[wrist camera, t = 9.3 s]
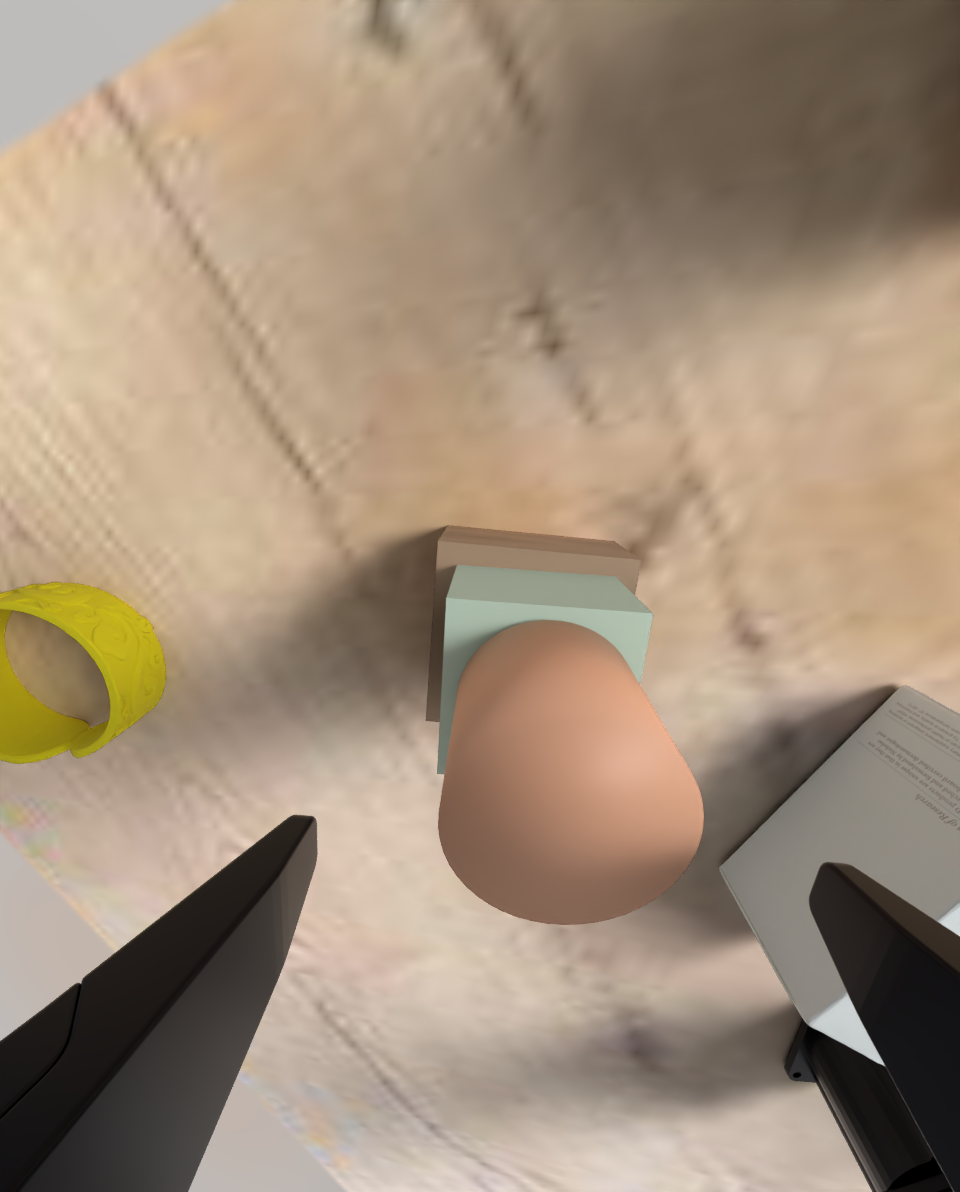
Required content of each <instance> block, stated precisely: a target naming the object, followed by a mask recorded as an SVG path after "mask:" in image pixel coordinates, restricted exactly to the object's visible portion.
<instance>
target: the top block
mask: <svg viewBox="0 0 960 1192" xmlns="http://www.w3.org/2000/svg"><path fill="white" fill-rule="evenodd" d="M652 618H653V613H652V612H651V611H650V610H649V609H648V608H647V607H646V606H645V605H644V604H643V603H642V602H641V601H640V600H639V599H638V598H637V597H636V596H635V595H634V594H633V593H632V592H631V591H630V590H629V589H628V588H627V587H626V586H625V585H624V584H623V583H622V582H621V581H620V580H619V579H618V578H617V577H615V576H601V575H588V574H575V573H561V572H548V571H535V570H521V569H508V568H495V567H481V566H468V565H457V567H456V570H455V573H454V576H453V579H452V582H451V585H450V588H449V591H448V594H447V597H446V614H445V633H444V652H443V671H442V690H441V709H440V728H439V747H438V766H437V774H445V768H446V762H447V755H448V749H449V742H450V735H451V729H452V722H453V716H454V709H455V702H456V696H457V690H458V685H459V681H460V678H461V675H462V672H463V670H464V668H465V666H466V665H467V663H468V661H469V660H470V658H471V657H472V656H473V654H474V653H475V652H476V651H477V650H478V649H479V648H480V647H481V646H482V645H483V644H484V643H485V642H487V641H488V640H489V639H490V638H492V637H493V636H495V635H497V634H498V633H500V632H501V631H504V630H506V629H508V628H510V627H513V626H516V625H519V624H522V623H526V622H532V621H540V620H557V621H565V622H570V623H575V624H578V625H581V626H584V627H586V628H588V629H591V630H593V631H595V632H597V633H598V634H600V635H601V636H603V637H604V638H606V639H607V640H608V641H609V642H610V643H612V644H613V645H614V646H615V647H616V648H617V650H618V651H619V652H620V653H621V654H622V656H623V657H624V659H625V660H626V662H627V663H628V665H629V667H630V669H631V670H632V672H633V674H634V675H635V677H636V679H637V681H638V682H639V684H640V683H641V678H642V672H643V667H644V661H645V656H646V651H647V645H648V640H649V634H650V629H651V624H652Z"/></svg>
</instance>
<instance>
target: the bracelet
mask: <svg viewBox="0 0 960 1192" xmlns="http://www.w3.org/2000/svg"><path fill="white" fill-rule="evenodd" d="M13 610H14V611H19V612H24V613H28V614H31V615H34V616H37V617H39V618H42V619H44V620H47V621H49V622H50V623H52V624H54V625H56V626H58V627H59V628H61V629H62V630H64V631H65V632H66V633H67V634H69V635H70V636H71V637H73V638H74V639H75V640H77V641H78V642H79V643H80V644H81V645H82V646H83V647H84V648H85V649H86V651H87V652H88V653H89V654H90V656H91V657H92V658H93V660H94V661H95V662H96V664H97V666H98V667H99V669H100V671H101V673H102V675H103V677H104V680H105V683H106V686H107V689H108V692H109V699H110V716H109V721H107V722H104V723H102V724H99V725H97V726H94V727H92V728H90V726H89V724H88V723H86V722H85V721H83V720H80V719H76V718H71V717H68V716H65V715H62V714H59V713H57V712H55V711H53V710H51V709H50V708H48V707H47V706H45V705H44V704H42V703H41V702H39V701H38V700H37V699H36V698H35V697H34V696H32V695H31V694H30V693H29V692H28V691H27V690H26V689H25V688H24V687H23V685H22V684H21V683H20V682H19V680H18V679H17V677H16V676H15V674H14V672H13V670H12V668H11V666H10V663H9V660H8V657H7V653H6V648H5V640H4V636H5V628H6V624H7V621H8V618H9V616H10V614H11V612H12V611H13ZM165 680H166V668H165V660H164V655H163V651H162V648H161V645H160V643H159V641H158V639H157V637H156V635H155V634H154V632H153V626H152V625H151V624H150V622H149V621H148V620H147V619H146V618H145V617H142V616H141V615H140V614H139V613H137V612H136V611H135V610H134V609H133V608H132V607H130V606H129V605H128V604H126V603H125V602H124V601H122V600H120V599H119V598H117V597H115V596H113V595H111V594H109V593H107V592H105V591H103V590H100V589H98V588H95V587H91V586H88V585H82V584H75V583H60V582H52V583H48V584H35V585H33V584H32V585H28V586H25V587H22V588H17V589H15V590H12V591H7V592H3V593H0V760H2V761H5V762H9V763H15V764H24V763H32V762H38V761H41V760H45V759H48V758H51V757H53V756H55V755H57V754H60V753H62V752H64V751H67V750H69V749H70V751H71V753H72V755H73V756H74V757H77V758H80V757H84V756H87V755H89V754H91V753H93V752H95V751H97V750H98V749H100V748H101V747H103V746H104V745H105V744H107V743H108V742H109V741H111V740H112V739H113V738H115V737H116V736H118V735H119V734H120V733H122V732H123V731H124V730H126V729H127V728H129V727H130V726H132V725H133V724H134V723H136V722H137V721H138V720H140V719H141V718H142V717H143V716H144V715H145V714H146V713H147V712H149V711H150V710H151V709H153V708H154V707H155V706H156V705H157V703H158V701H159V700H160V698H161V697H162V694H163V691H164V686H165Z"/></svg>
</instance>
